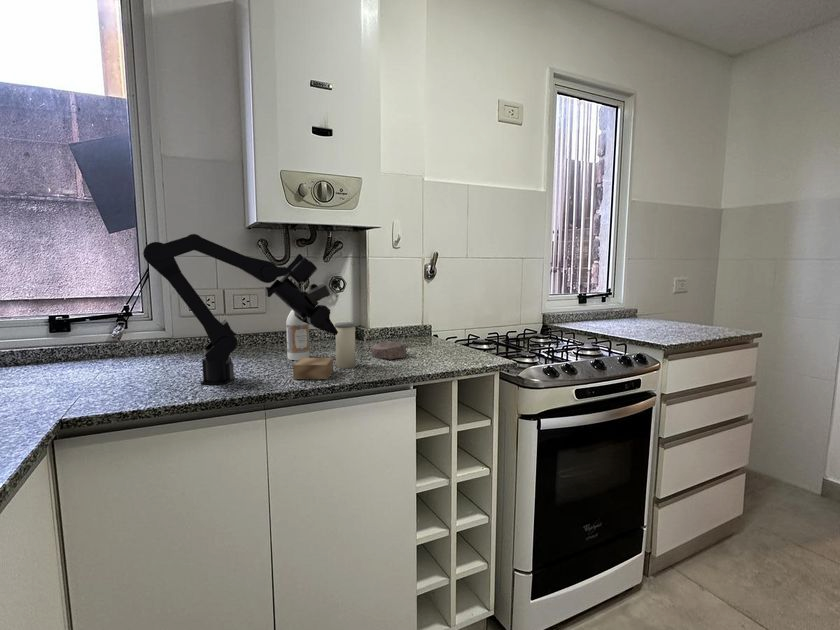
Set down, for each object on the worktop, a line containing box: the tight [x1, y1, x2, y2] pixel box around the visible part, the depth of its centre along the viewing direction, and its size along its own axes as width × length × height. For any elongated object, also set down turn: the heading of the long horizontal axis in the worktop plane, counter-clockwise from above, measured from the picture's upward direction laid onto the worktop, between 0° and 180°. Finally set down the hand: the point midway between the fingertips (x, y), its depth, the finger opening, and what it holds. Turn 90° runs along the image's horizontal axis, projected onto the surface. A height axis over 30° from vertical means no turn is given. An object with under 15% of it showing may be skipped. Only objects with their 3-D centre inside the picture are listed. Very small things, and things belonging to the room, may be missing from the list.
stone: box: [369, 341, 408, 360], centre depth 146 cm, size 12×9×5 cm
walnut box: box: [292, 357, 335, 380], centre depth 121 cm, size 9×9×4 cm
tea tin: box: [334, 321, 357, 369], centre depth 132 cm, size 6×6×13 cm
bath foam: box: [285, 309, 311, 362], centre depth 141 cm, size 7×7×20 cm
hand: (331, 331), depth 129 cm, fingers open, 9 cm apart
